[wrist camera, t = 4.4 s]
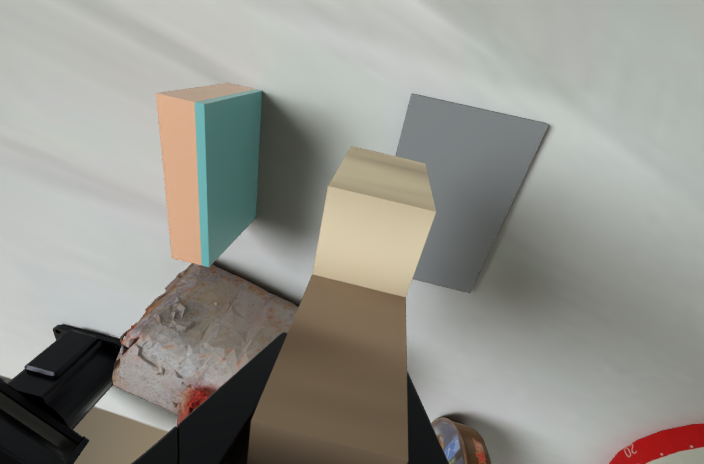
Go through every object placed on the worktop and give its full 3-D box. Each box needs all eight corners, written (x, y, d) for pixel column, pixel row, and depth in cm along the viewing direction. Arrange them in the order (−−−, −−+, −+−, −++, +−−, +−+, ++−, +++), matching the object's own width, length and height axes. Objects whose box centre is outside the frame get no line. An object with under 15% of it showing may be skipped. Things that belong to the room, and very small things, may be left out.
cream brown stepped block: (365, 350, 15) (334, 600, 8) (313, 337, 15) (237, 574, 8) (425, 163, 11) (467, 348, 4) (351, 145, 11) (262, 297, 4)
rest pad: (468, 289, 22) (470, 293, 22) (367, 264, 22) (366, 267, 22) (545, 122, 17) (548, 124, 17) (411, 93, 17) (411, 94, 17)
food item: (366, 323, 25) (345, 462, 17) (324, 380, 29) (288, 517, 20) (200, 241, 24) (82, 345, 15) (178, 312, 28) (74, 428, 19)
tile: (256, 217, 22) (209, 267, 17) (227, 210, 22) (172, 258, 17) (262, 90, 18) (204, 104, 13) (227, 82, 18) (155, 93, 13)
